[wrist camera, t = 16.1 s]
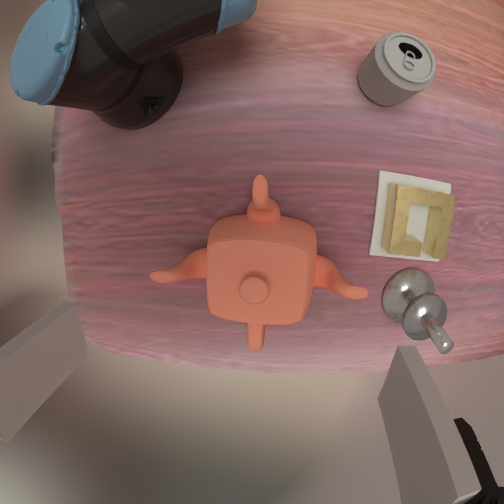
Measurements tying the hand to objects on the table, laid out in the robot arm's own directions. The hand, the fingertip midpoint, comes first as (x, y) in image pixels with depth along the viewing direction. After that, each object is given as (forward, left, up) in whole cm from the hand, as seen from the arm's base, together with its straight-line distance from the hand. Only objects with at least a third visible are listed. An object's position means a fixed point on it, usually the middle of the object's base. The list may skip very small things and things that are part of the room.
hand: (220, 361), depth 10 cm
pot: (+5, -1, -32) cm, 32 cm away
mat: (-2, +20, -32) cm, 38 cm away
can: (-21, +14, -32) cm, 41 cm away
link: (-2, +20, -31) cm, 37 cm away
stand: (+10, +22, -32) cm, 40 cm away
